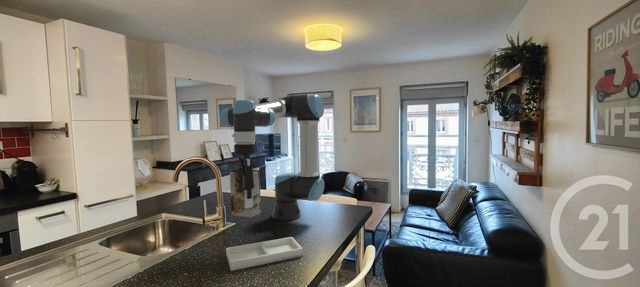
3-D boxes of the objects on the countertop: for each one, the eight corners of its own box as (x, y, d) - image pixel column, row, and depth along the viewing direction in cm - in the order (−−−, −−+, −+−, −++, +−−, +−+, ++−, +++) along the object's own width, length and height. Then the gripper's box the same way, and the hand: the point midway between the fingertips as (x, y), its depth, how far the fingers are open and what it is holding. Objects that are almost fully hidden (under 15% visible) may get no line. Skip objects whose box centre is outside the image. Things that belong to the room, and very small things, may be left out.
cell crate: (226, 255, 112) (226, 248, 112) (292, 243, 123) (292, 236, 122) (230, 270, 100) (230, 262, 100) (302, 256, 111) (302, 248, 111)
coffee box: (261, 212, 109) (260, 169, 108) (250, 218, 103) (249, 172, 102) (242, 210, 112) (241, 168, 111) (230, 214, 107) (229, 170, 106)
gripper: (229, 141, 115) (231, 197, 116) (239, 145, 94) (240, 213, 95) (249, 141, 118) (250, 195, 119) (262, 145, 97) (263, 210, 98)
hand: (246, 203), depth 107 cm, fingers closed on coffee box, 11 cm apart
